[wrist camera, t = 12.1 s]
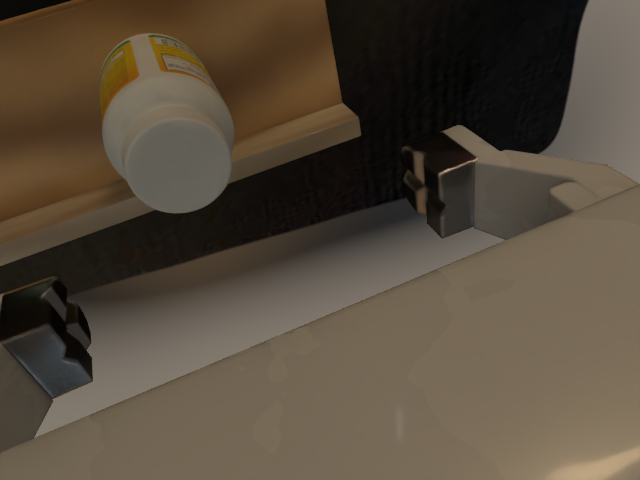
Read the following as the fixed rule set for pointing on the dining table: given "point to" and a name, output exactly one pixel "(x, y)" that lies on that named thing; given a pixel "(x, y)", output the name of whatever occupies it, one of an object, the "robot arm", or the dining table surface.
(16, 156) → the windowsill ledge
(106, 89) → the supplement bottle
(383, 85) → the dining table surface
